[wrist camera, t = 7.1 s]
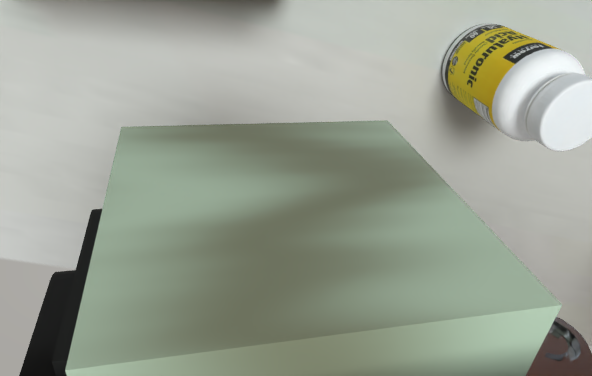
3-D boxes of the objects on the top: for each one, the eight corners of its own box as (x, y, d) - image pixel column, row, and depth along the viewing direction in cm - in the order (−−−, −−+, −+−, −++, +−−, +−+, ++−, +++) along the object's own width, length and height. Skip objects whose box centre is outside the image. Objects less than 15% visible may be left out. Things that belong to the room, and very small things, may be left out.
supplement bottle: (491, 3, 30) (608, 43, 22) (523, 61, 33) (637, 116, 25) (424, 62, 31) (512, 120, 23) (461, 113, 34) (551, 181, 26)
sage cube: (387, 120, 11) (561, 304, 6) (353, 302, 14) (449, 521, 9) (121, 126, 10) (65, 371, 5) (149, 325, 13) (132, 598, 8)
